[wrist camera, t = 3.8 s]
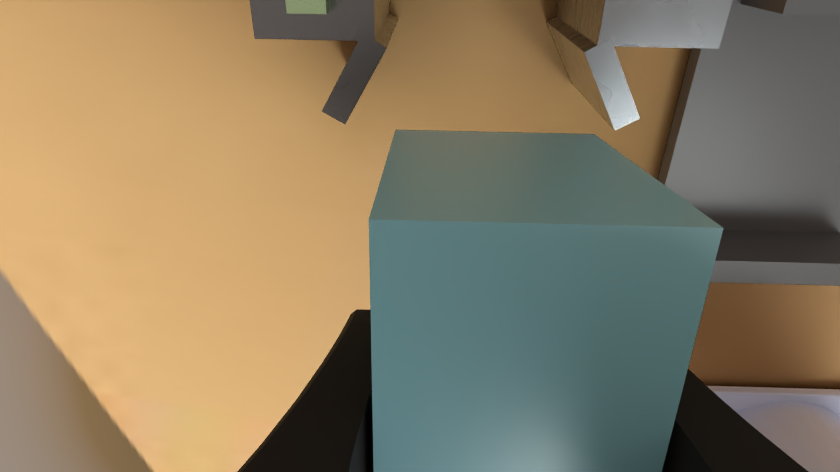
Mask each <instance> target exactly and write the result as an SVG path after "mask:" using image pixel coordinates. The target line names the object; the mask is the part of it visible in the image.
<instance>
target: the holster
mask: <svg viewBox="0 0 840 472" xmlns="http://www.w3.org/2000/svg"><path fill="white" fill-rule="evenodd" d="M658 181H659V182H661V183H662V184H664V185H665V186H666V187H668V188H669V189H671V190H672V191H673V192H675V193H676V194H677V195H679V196H680V197H682V198H683V199H684V200H686V201H687V202H688V203H690V204H691V205H693V206H694V207H695V208H697V209H698V210H700V211H701V212H702V213H704V214H705V215H706V216H708V217H709V218H711V219H712V220H713V221H715V222H716V223H717V224H719V225H720V226H722V227H723V232H722V236H721V240H720V244H719V248H718V252H717V256H716V260H715V264H714V268H713V272H712V276H711V279H710V282H718V283H757V284H795V285H833V286H840V0H733V1H732V4H731V8H730V11H729V15H728V18H727V22H726V26H725V29H724V33H723V36H722V40H721V43H720V47H719V49H706V48H691V52H690V56H689V60H688V63H687V67H686V71H685V75H684V79H683V83H682V87H681V91H680V94H679V98H678V102H677V106H676V110H675V114H674V118H673V122H672V125H671V129H670V133H669V137H668V141H667V145H666V149H665V153H664V157H663V160H662V164H661V168H660V172H659V176H658Z"/></svg>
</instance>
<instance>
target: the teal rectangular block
mask: <svg viewBox="0 0 840 472" xmlns="http://www.w3.org/2000/svg"><path fill="white" fill-rule="evenodd" d="M722 232H723V227H722V226H720V225H719V224H717V223H716V222H715V221H713V220H712V219H711V218H709V217H708V216H706V215H705V214H704V213H702V212H701V211H700V210H698V209H697V208H695V207H694V206H693V205H691V204H690V203H688V202H687V201H686V200H684V199H683V198H682V197H680V196H679V195H677V194H676V193H675V192H673V191H672V190H671V189H669V188H668V187H666V186H665V185H664V184H662V183H661V182H659V181H658V180H657V179H655V178H654V177H653V176H651V175H650V174H648V173H647V172H646V171H644V170H643V169H642V168H640V167H639V166H637V165H636V164H635V163H633V162H632V161H631V160H629V159H628V158H626V157H625V156H624V155H622V154H621V153H619V152H618V151H617V150H615V149H614V148H613V147H611V146H610V145H608V144H607V143H606V142H604V141H603V140H602V139H600V138H599V137H597V136H596V135H595V134H565V133H521V132H477V131H432V130H396V131H395V134H394V137H393V141H392V144H391V147H390V151H389V154H388V157H387V161H386V164H385V167H384V171H383V174H382V177H381V181H380V184H379V187H378V191H377V194H376V197H375V201H374V204H373V207H372V211H371V214H370V217H369V252H370V306H371V360H372V414H373V468H374V472H662V469H663V465H664V461H665V457H666V453H667V449H668V445H669V441H670V437H671V433H672V429H673V426H674V422H675V418H676V414H677V410H678V406H679V402H680V398H681V394H682V390H683V386H684V382H685V378H686V374H687V370H688V366H689V362H690V358H691V354H692V351H693V347H694V343H695V339H696V335H697V331H698V327H699V323H700V319H701V315H702V311H703V307H704V303H705V299H706V295H707V291H708V287H709V283H710V279H711V276H712V272H713V268H714V264H715V260H716V256H717V252H718V248H719V244H720V240H721V236H722Z"/></svg>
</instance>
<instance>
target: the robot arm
mask: <svg viewBox="0 0 840 472" xmlns="http://www.w3.org/2000/svg"><path fill="white" fill-rule="evenodd" d="M238 472H374V468H373V414H372V360H371V310H356V311H354V312H353V313H352V314H351V315H350V317H349V319H348V321H347V323H346V325H345V326H344V328H343V330H342V332H341V334H340V335H339V337H338V339H337V340H336V342H335V344H334V345H333V347H332V348H331V350H330V352H329V353H328V355H327V356H326V358H325V359H324V361H323V363H322V364H321V366H320V367H319V368H318V370H317V371H316V373H315V374H314V376H313V377H312V378H311V380H310V381H309V383H308V384H307V386H306V387H305V388H304V390H303V391H302V393H301V394H300V396H299V397H298V398H297V400H296V401H295V402H294V404H293V405H292V406H291V407H290V409H289V410H288V411H287V413H286V414H285V415H284V416H283V418H282V419H281V420H280V421H279V423H278V424H277V425H276V426H275V428H274V429H273V430H272V431H271V433H270V434H269V435H268V437H267V438H266V439H265V440H264V442H263V443H262V444H261V445H260V446H259V448H258V449H257V450H256V451H255V452H254V453H253V455H252V456H251V457H250V458H249V459H248V460H247V461H246V463H245V464H244V465H243V466H242V467H241V468H240V469H239V471H238ZM662 472H840V389H807V388H771V387H736V386H706V385H705V384H704V383H703V382H702V381H701V380H700V379H699V378H697V377H696V376H695V375H694V374H693V373H692V372H691V371H690V370H689V369H688V370H687V374H686V378H685V382H684V386H683V390H682V394H681V398H680V402H679V406H678V410H677V414H676V418H675V422H674V426H673V429H672V433H671V437H670V441H669V445H668V449H667V453H666V457H665V461H664V465H663V469H662Z"/></svg>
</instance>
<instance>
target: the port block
mask: <svg viewBox="0 0 840 472" xmlns="http://www.w3.org/2000/svg"><path fill="white" fill-rule="evenodd" d="M732 1H733V0H558V4H557V12H556V17H554V18H552V19H550V20H548V21H546V23H547V25H548V27H549V30H550V32H551V35H552V37H553V40H554V42H555V44H556V47H557V49H558V52H559V54H560V57H561V59H562V61H563V64H564V66H565V69H566V71H567V74H568V76H569V78H570V81H571V83H572V84H573V85H574V86H575V87H576V89H577V90H578V91H579V92H580V93H581V94H582V95H583V96H584V97H585V98H586V100H587V101H588V102H589V103H590V104H591V105H592V106H593V107H594V108H595V109H596V111H597V112H598V113H599V114H600V115H601V116H602V117H603V118H604V119H605V120H606V122H607V123H608V124H609V125H610V126H611V127H612V128H613V129H614V130H617V129H619V128H622V127H624V126H626V125H628V124H630V123H632V122H634V121H636V120H638V119H640V117H639V114H638V111H637V108H636V106H635V103H634V100H633V97H632V95H631V92H630V89H629V86H628V84H627V81H626V78H625V75H624V73H623V70H622V67H621V64H620V61H619V59H618V56H617V53H616V50H615V48H614V46H615V47H660V48H706V49H719V47H720V43H721V40H722V36H723V33H724V29H725V26H726V22H727V18H728V15H729V11H730V8H731V4H732ZM250 6H251V13H252V21H253V29H254V36H255V39H295V40H341V41H358V42H357V44H356V46H355V48H354V50H353V52H352V54H351V56H350V58H349V60H348V62H347V64H346V66H345V67H344V69H343V71H342V73H341V75H340V77H339V79H338V81H337V83H336V85H335V87H334V89H333V91H332V93H331V95H330V96H329V98H328V100H327V102H326V104H325V106H324V108H323V110H322V112H324V113H326V114H328V115H329V116H331V117H333V118H335V119H336V120H338V121H340V122H342V123H343V124H345V123H346V122H347V120H348V118H349V116H350V114H351V113H352V111H353V109H354V107H355V105H356V103H357V102H358V100H359V98H360V96H361V94H362V92H363V91H364V89H365V87H366V85H367V83H368V81H369V80H370V78H371V76H372V74H373V72H374V70H375V69H376V67H377V65H378V63H379V61H380V60H381V58H382V56H383V54H384V52H385V50H386V49H387V46H388V44H389V41H390V39H391V36H392V33H393V31H394V28H395V26H396V23H397V21H398V18H397V17H395V16H394V15H392V14H391V13H389V0H250Z"/></svg>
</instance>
